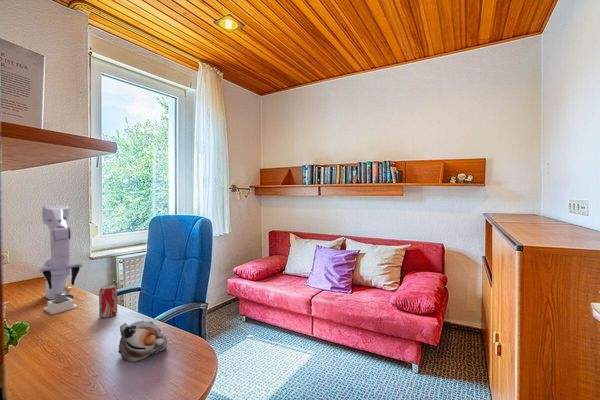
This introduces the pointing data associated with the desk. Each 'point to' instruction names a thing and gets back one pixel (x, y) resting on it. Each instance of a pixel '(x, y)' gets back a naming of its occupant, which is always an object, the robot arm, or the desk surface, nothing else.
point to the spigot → (60, 298)
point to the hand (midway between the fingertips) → (61, 286)
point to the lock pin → (67, 290)
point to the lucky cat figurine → (140, 340)
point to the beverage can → (107, 301)
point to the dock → (60, 305)
